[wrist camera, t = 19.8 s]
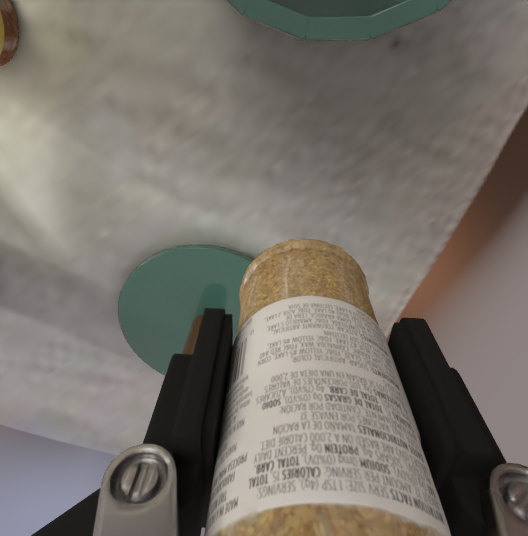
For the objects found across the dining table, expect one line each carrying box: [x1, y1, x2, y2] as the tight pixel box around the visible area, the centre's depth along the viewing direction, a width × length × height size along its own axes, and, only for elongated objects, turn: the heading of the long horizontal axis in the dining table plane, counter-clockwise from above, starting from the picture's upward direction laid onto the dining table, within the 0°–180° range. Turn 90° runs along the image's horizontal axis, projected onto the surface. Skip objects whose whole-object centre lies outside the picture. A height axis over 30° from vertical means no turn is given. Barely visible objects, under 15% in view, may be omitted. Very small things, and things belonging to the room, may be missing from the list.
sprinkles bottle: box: [204, 239, 451, 536], centre depth 8 cm, size 5×5×13 cm
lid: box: [118, 245, 253, 376], centre depth 32 cm, size 16×16×6 cm
